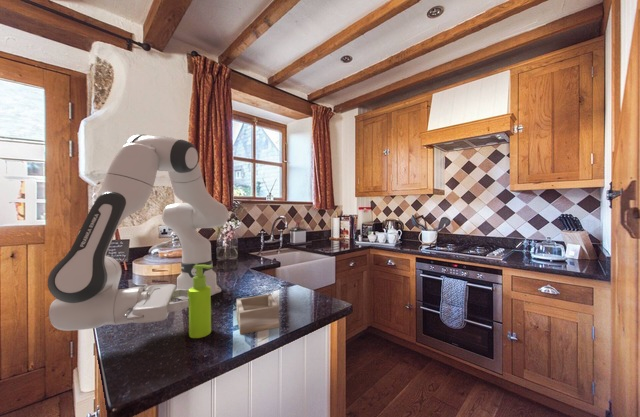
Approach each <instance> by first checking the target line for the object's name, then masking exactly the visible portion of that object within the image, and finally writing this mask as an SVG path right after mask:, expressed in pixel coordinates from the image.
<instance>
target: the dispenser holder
mask: <svg viewBox="0 0 640 417" xmlns="http://www.w3.org/2000/svg"><path fill="white" fill-rule="evenodd" d="M235 302H236V320H237V325H238V330H239V335H245V334H249V333H250V334H251V333H254V332H255V333H256V332H259V331H265V330H270V329H277V328H280V306H279V304H278V303H277V301H276V300H275V298H274V297H273V296H272V294H271V293H269V294H264V295H263V294H262V295H256V296H249V297H242V298H240V297H239V298H236V301H235Z"/></svg>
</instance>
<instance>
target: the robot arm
mask: <svg viewBox="0 0 640 417" xmlns="http://www.w3.org/2000/svg"><path fill="white" fill-rule="evenodd" d="M199 158H200V156H199V152H198V149H197V148H196V146H195V145H194V144H193V143H192V142H190V141H188V140H185V139H177V138H174V137H169V136H165V135H160V136H159V135H147V134H135V135H132V136H130V137H129V138H128V139H127V140H126V142H125V144H123V146H121V148H120V149H119V150H118V151H117V153H116V155H115V156H114V158H113V160H112V161H111V163H110V165H109V167H108V170H107V172H106V175H105V177H104V180H103V182H102V185H101V187H100V190H99V192H98V195H97V197H96V198H95V201H94V202H93V204H92V206H91V208H90V210H89V211H88V214H87V215H86V218H85V220H84V222H83V224H82V226H81V228H80V230H79V232H78V233H77V236H76V238H75V240H74V242H73V244H72V246H71V248H70V250H69V251H68V252H67V254H66V255H65V256H64V257H63V258H62V259H61V260H60V261H59V262H58V263H57V264H56V265H54V267H53V268H52V269H51V271H50V272H49V274H48V277H47V288H48V291H49V292H50V294H51V295H52V296H53V297H54V298H56V299H54V300H53V301H52V302H51V303H50V305H49V309H48V320H49V322H50V324H51V325H52V326H53V327H54V328H55V329H57V330H59V331H68V332H69V331H83V330H91V329H98V328H99V327H102V326H107V325H114V326H116V325H122V324H124V325H125V324H130V323H134V324H142V323H143V324H145V323H147V324H148V323H155V322H162V321H164V320H166V319H167V318H168V316H169V313H172V312H177V311H179V310H180V309H187V308H189V297H188V290H189V289H190V288H193V277H194V276H196V268H193V266H195V265H201V264H206V265H211V266H213V260H212V244H211V241H210V240H209V239H208V238H206V237H204V236H201V235H200V234H199V233H198V231H197V229H214V228H219V227H223V226H224V225H225V224H226V223H228V220H229V215H230V214H229V210H228V207H227V206H225V204H223V203H221V202H220V201H218V200H216V199H215V198H214V197H212V195H211V194H210V193H209V192H208V190H207V188H206V185H205V182H204V178H203V174H202V169H201V166H200V162H199V160H200V159H199ZM158 171H159V172H168V173H167V174H168V177H169V180H170V183H171V186H172V190H173V193H174V195H175V196H176V198H177V199H179V200H180V201H182V202H175V203H171V204H168V205H166V206H165V207H164V208H163V211H162V213H161V219H162V221H163V224H164V225H165V226H166V227H168V228H169V229H170V230H172V232H174V234H175V235H176V236H177V237H178V240H179V241H180V246H181V259H182V261H181V263H180V271H181V273H180V274H179V275H178V276H177V278H176V284H174V283H168V284H167V283H166V284H165V283H164V284H153V285H148V284H147V283H145V284H144V283H143V284H142V283H141V284H139V285H136V286H134V287H129V288H120V289H119V286H120V283H121V279H122V273H123V270H122V265H121V263H120V262H119V261H118V259H115V258H114V257H113V256H110V255H107V252H108V251H109V248H110V246H111V244H112V241H113V239H114V237H115V234H116V232H117V230H118V228H119V227H120V225H121V223H122V222H123V220H125V219H126V218H127V217H128V216H130V215H132V214H134V213H137V212H138V211H140V210H142V209H143V208H144V206H145V205H146V203H147V202H148V200H149V198H150V196H151V194H152V191H153V188H154V185H155V182H156V179H157V174H158V173H157V172H158ZM203 275H205V276H206V286H210V287H211V296H214V295H216V294H219V293H221V292H222V288H221V287H220V286H219V285H218V284H217V282H218V281H217V273H216V272H215V271H214V270H213V267H212V268H210V269H206V268H203ZM175 299H178V300H177V301H175Z"/></svg>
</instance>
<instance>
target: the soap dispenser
mask: <svg viewBox="0 0 640 417" xmlns="http://www.w3.org/2000/svg"><path fill="white" fill-rule="evenodd" d="M213 267H214V266H213V265H212V266H211V265H206V264H201V265H195V266H193V268H196V276H194V277H193V288H190V289H189V290H188V297H189V307H188V337H189V338H191V339H200V338H204V337H207V336H208V335H209V336H210V334H211V333H212V297H211V287H210V286H206V276H205V275H203V268H206V269H210V268H212V269H213Z"/></svg>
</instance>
